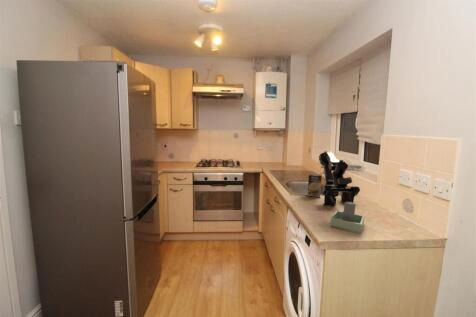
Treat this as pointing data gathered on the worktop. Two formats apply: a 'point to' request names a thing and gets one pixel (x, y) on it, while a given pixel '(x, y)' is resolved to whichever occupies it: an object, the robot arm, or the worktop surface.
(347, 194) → the coffee mug
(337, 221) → the sage bin
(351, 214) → the ball
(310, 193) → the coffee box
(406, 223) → the worktop surface
